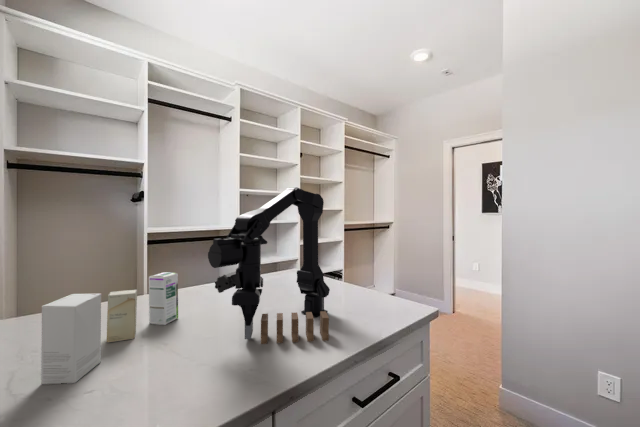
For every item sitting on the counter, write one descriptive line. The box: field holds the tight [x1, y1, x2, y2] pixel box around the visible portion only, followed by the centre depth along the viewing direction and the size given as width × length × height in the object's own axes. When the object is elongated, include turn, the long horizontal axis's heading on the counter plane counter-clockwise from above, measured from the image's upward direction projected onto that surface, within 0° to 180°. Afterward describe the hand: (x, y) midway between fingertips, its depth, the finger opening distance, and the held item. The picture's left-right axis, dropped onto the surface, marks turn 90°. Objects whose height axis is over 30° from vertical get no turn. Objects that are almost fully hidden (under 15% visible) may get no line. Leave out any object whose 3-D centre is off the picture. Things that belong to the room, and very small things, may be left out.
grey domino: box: [244, 319, 254, 340], centre depth 76 cm, size 2×5×9 cm, turn 8°
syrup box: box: [148, 271, 179, 326], centre depth 89 cm, size 6×6×14 cm
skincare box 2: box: [106, 289, 138, 343], centre depth 77 cm, size 6×4×12 cm
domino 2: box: [276, 312, 284, 344], centre depth 77 cm, size 2×5×6 cm, turn 8°
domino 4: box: [305, 312, 315, 342], centre depth 78 cm, size 2×5×6 cm, turn 8°
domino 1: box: [260, 313, 269, 345], centre depth 76 cm, size 2×5×6 cm, turn 8°
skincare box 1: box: [40, 292, 102, 385], centre depth 60 cm, size 8×7×16 cm
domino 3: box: [290, 312, 299, 343], centre depth 78 cm, size 2×5×6 cm, turn 8°
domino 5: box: [319, 311, 330, 342], centre depth 79 cm, size 2×5×6 cm, turn 8°
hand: (249, 321), depth 76 cm, fingers closed on grey domino, 5 cm apart
